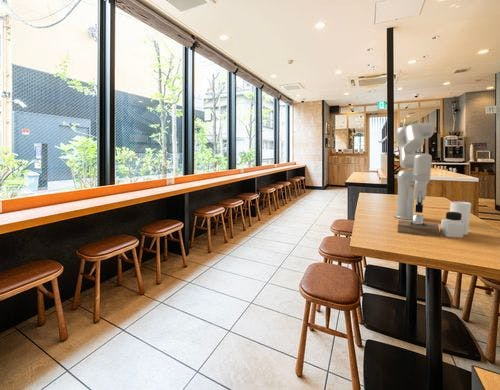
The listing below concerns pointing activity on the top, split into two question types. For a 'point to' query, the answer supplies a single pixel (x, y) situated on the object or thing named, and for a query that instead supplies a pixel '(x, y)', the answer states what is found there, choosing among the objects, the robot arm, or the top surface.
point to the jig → (418, 228)
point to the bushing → (417, 219)
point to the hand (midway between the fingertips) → (418, 212)
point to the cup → (462, 212)
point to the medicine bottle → (452, 225)
